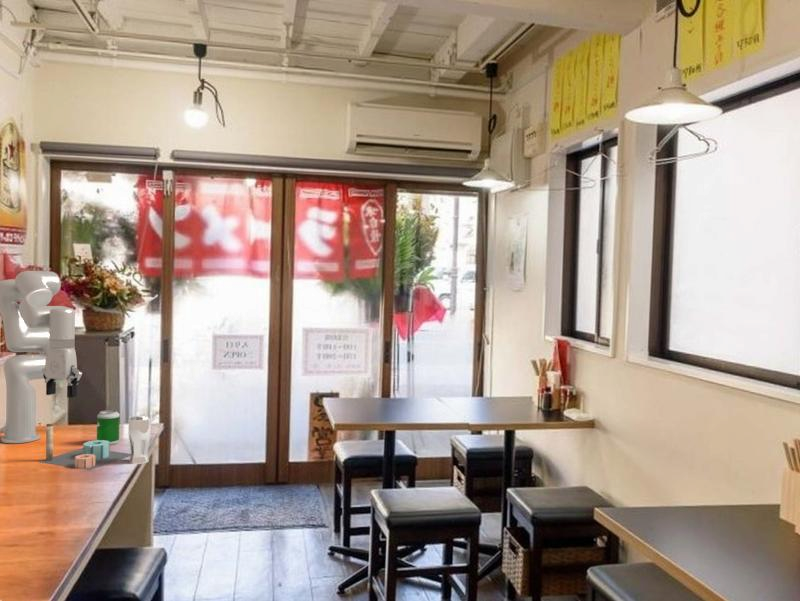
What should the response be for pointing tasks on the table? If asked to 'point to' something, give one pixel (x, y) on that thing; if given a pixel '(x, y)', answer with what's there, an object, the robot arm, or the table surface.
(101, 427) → the soda can
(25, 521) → the table surface
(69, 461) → the mat
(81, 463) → the bead small
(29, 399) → the robot arm
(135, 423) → the beer glass
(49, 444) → the tan wooden dowel
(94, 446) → the pale teal gear
